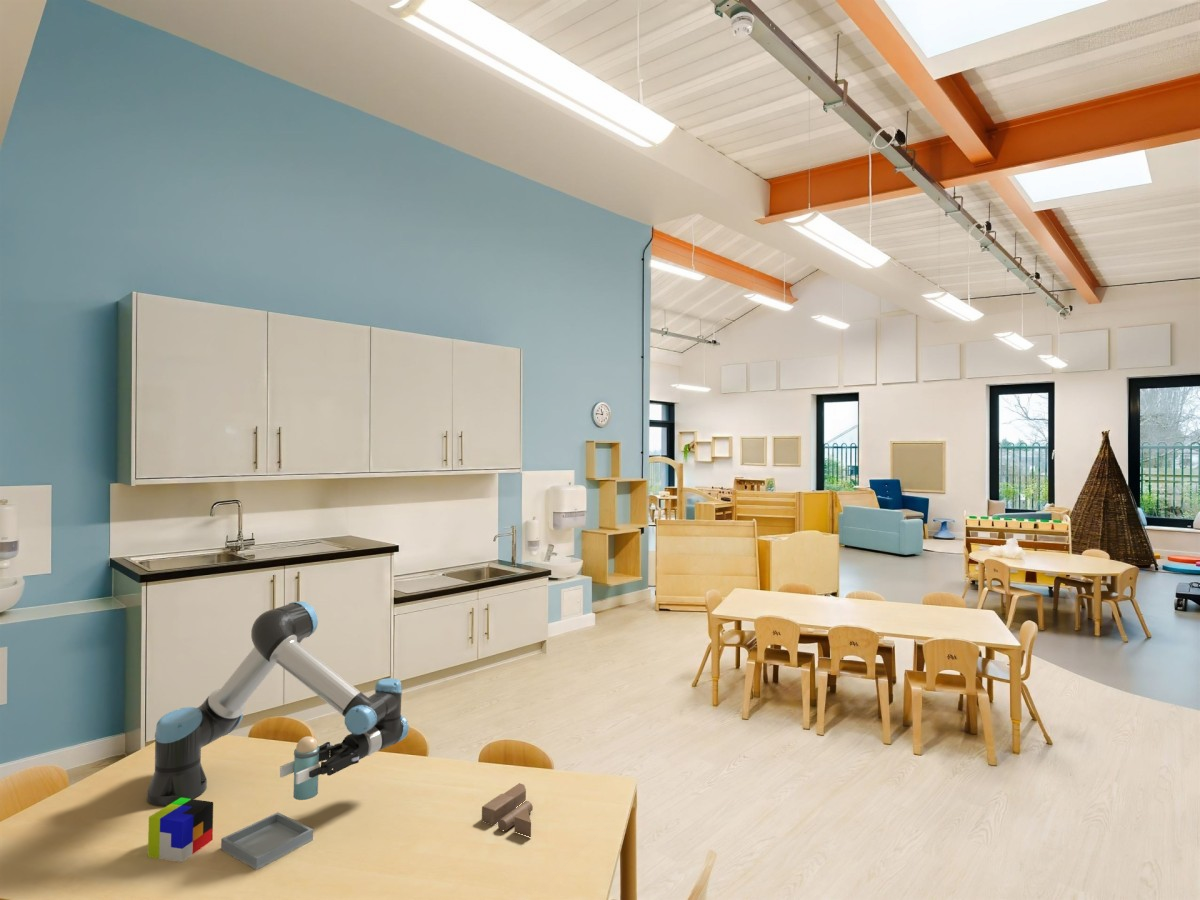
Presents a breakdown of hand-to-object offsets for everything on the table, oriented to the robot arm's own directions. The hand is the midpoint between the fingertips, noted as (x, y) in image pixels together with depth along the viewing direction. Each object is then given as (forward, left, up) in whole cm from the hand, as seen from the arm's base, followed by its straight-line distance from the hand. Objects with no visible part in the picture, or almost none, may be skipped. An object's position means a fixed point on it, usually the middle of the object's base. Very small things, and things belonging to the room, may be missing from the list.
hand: (288, 775), depth 176 cm
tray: (-5, -2, -18) cm, 19 cm away
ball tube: (0, +5, -7) cm, 9 cm away
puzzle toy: (-22, -15, -19) cm, 33 cm away
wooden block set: (+42, +45, -19) cm, 64 cm away
